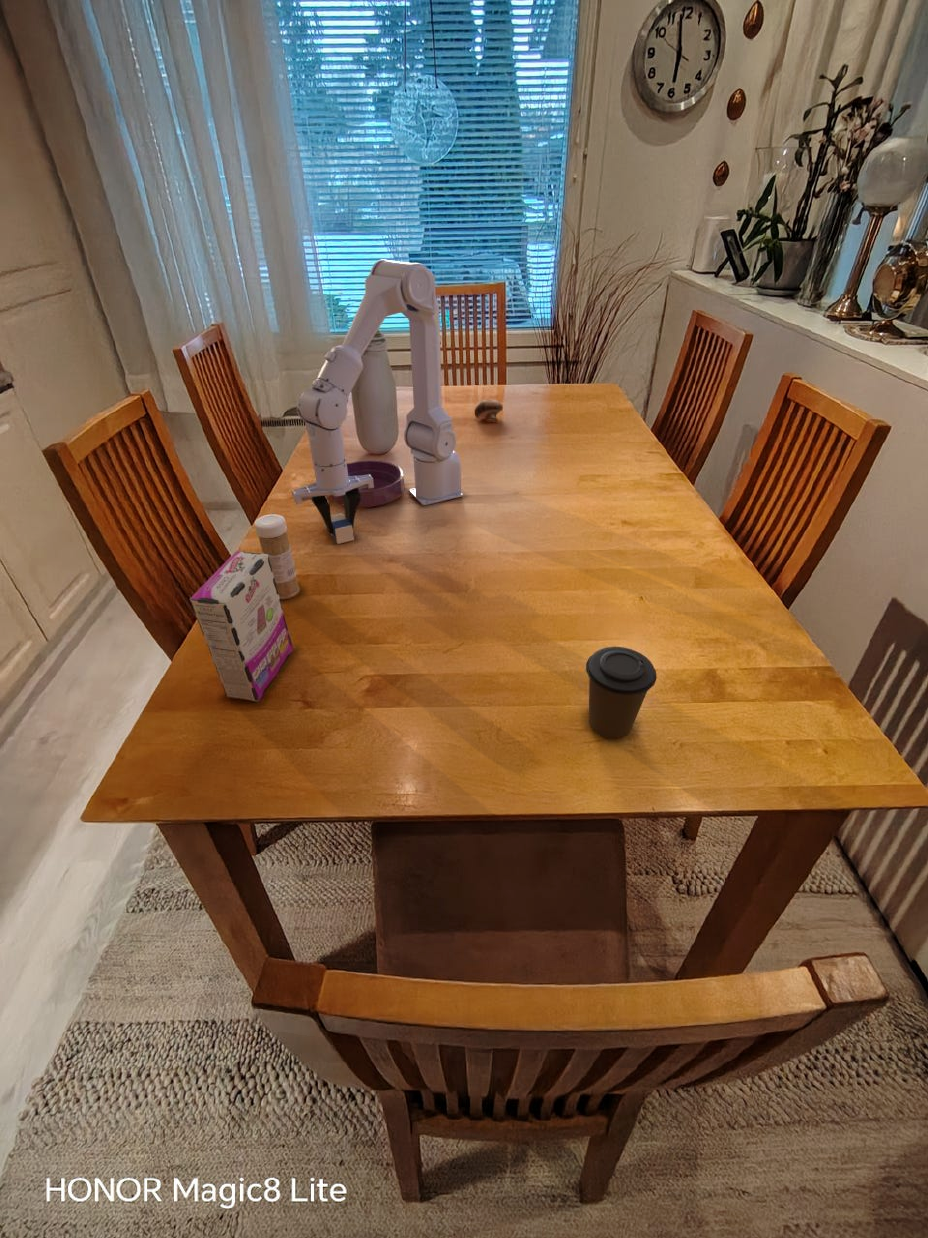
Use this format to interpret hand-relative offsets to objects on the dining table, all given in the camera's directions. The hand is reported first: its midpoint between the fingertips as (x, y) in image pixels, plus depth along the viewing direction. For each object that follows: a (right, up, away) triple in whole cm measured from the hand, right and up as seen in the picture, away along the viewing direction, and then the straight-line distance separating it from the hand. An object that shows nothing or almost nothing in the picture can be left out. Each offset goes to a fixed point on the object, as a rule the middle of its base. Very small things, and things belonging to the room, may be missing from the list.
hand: (340, 529), depth 111 cm
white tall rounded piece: (+2, +25, +35) cm, 43 cm away
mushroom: (+30, +38, +53) cm, 72 cm away
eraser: (0, -1, +1) cm, 1 cm away
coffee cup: (+42, -30, -37) cm, 64 cm away
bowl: (+2, +10, +16) cm, 19 cm away
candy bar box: (-5, -25, -30) cm, 39 cm away
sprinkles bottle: (-6, -13, -14) cm, 20 cm away
